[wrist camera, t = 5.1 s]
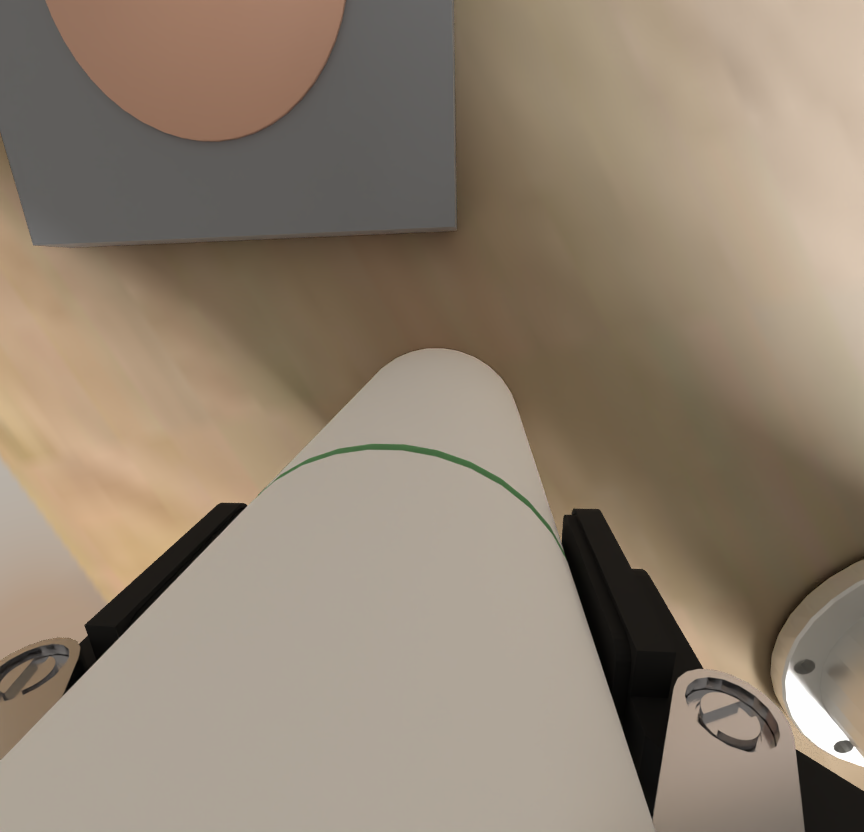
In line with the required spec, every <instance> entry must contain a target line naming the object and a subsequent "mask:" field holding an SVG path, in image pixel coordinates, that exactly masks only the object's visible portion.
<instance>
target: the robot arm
mask: <svg viewBox="0 0 864 832" xmlns="http://www.w3.org/2000/svg"><path fill="white" fill-rule="evenodd" d="M246 507H247V505H246V504H244V503H220V504H218V505H217V506H216V507H215V508H213V509H212V510H211V511H210V512H209V513H208V514H207V515H206V516H205V517H204V518H202V519H201V520H200V521H199V522H198V523H197V524H196V525H195V526H194V527H192V528H191V529H190V530H189V531H188V532H187V533H186V534H185V535H184V536H183V537H181V538H180V539H179V540H178V541H177V542H176V543H175V544H174V545H173V546H171V547H170V548H169V549H168V550H167V551H166V552H165V553H164V554H163V555H162V556H160V557H159V558H158V559H157V560H156V561H155V562H154V563H153V564H152V565H150V566H149V567H148V568H147V569H146V570H145V571H144V572H143V573H142V574H140V575H139V576H138V577H137V578H136V579H135V580H134V581H133V582H132V583H131V584H129V585H128V586H127V587H126V588H125V589H124V590H123V591H122V592H121V593H119V594H118V595H117V596H116V597H115V598H114V599H113V600H112V601H111V602H110V603H108V604H107V605H106V606H105V607H104V608H103V609H102V610H101V611H100V612H98V613H97V614H96V615H95V616H94V617H93V618H92V619H91V620H90V621H88V622H87V624H85V628H86V631H87V634H88V636H87V637H86V638H85V639H84V640H83V641H82V642H81V643H80V644H78V642H77V641H76V640H73V639H71V638H53V639H48V640H43V641H40V642H37V643H34V644H31V645H28V646H26V647H24V648H22V649H20V650H18V651H15V652H14V653H11V654H10V655H8V656H6V657H5V658H3V659H2V660H0V760H1V759H2V758H3V757H4V756H5V755H6V754H7V753H8V752H9V751H10V750H11V749H12V748H13V747H14V746H15V745H16V744H17V743H18V742H19V741H20V740H21V739H22V738H23V737H24V736H25V735H26V734H27V733H28V732H29V730H30V729H31V728H32V727H33V726H34V725H35V724H36V723H37V722H38V721H39V720H40V719H41V718H42V717H43V716H44V715H45V714H46V713H47V712H48V711H49V710H50V709H51V708H52V707H53V706H54V705H55V704H56V703H57V702H58V701H59V700H60V699H61V698H62V696H63V695H64V694H65V693H66V692H67V691H68V690H69V689H70V688H71V687H72V686H73V685H74V684H75V683H76V682H77V681H78V680H79V679H80V678H81V677H82V676H83V675H84V674H85V673H86V672H87V671H88V670H89V669H90V668H91V667H92V666H93V665H94V664H95V662H96V661H97V660H98V659H99V658H100V657H101V656H102V655H103V654H104V653H105V652H106V651H107V650H108V649H109V648H110V647H111V646H112V645H113V644H114V643H115V642H116V641H117V640H118V639H119V638H120V637H121V636H122V635H123V634H124V633H125V632H126V631H127V630H128V628H129V627H130V626H131V625H132V624H133V623H134V622H135V621H136V620H137V619H138V618H139V617H140V616H141V615H142V614H143V613H144V612H145V611H146V610H147V609H148V608H149V607H150V606H151V605H152V604H153V603H154V602H155V601H156V600H157V599H158V598H159V597H160V596H161V595H162V593H163V592H164V591H165V590H166V589H167V588H168V587H169V586H170V585H171V584H172V583H173V582H174V581H175V580H176V579H177V578H178V577H179V576H180V575H181V574H182V573H183V572H184V571H185V570H186V569H187V568H188V567H189V566H190V565H191V564H192V563H193V562H194V561H195V559H196V558H197V557H198V556H199V555H200V554H201V553H202V552H203V551H204V550H205V549H206V548H207V547H208V546H209V545H210V544H211V543H212V542H213V541H214V540H215V539H216V538H217V537H218V536H219V535H220V534H221V533H222V532H223V531H224V530H225V529H226V528H227V526H228V525H229V524H230V523H231V522H232V521H233V520H234V519H235V518H236V517H237V516H238V515H239V514H240V513H241V512H242V511H243V510H244V509H245V508H246ZM562 546H563V550H564V553H565V556H566V559H567V562H568V565H569V568H570V571H571V574H572V577H573V580H574V583H575V586H576V589H577V592H578V595H579V598H580V601H581V604H582V608H583V611H584V614H585V617H586V620H587V623H588V626H589V629H590V632H591V635H592V638H593V641H594V644H595V647H596V650H597V653H598V656H599V659H600V662H601V665H602V669H603V672H604V675H605V678H606V681H607V684H608V687H609V690H610V693H611V696H612V699H613V702H614V705H615V708H616V711H617V714H618V717H619V720H620V723H621V726H622V730H623V733H624V736H625V739H626V742H627V745H628V748H629V751H630V754H631V757H632V760H633V763H634V766H635V769H636V772H637V775H638V778H639V781H640V784H641V788H642V791H643V794H644V797H645V800H646V803H647V806H648V809H649V812H650V815H651V818H652V822H653V825H654V829H655V832H864V791H862V790H861V789H859V788H858V787H856V786H854V785H853V784H851V783H850V782H848V781H846V780H845V779H843V778H841V777H840V776H838V775H837V774H835V773H833V772H832V771H830V770H829V769H827V768H825V767H824V766H822V765H821V764H819V763H817V762H816V761H814V760H812V759H811V758H809V757H808V756H806V755H804V754H803V753H801V752H800V751H798V750H796V749H795V740H794V736H793V733H792V730H791V727H790V724H789V722H788V721H787V719H786V718H785V716H784V715H783V713H782V712H781V710H780V709H779V708H778V707H777V706H776V705H775V704H774V703H773V702H772V701H771V700H770V699H769V698H768V697H767V696H766V695H765V694H763V693H762V692H761V691H759V690H758V689H756V688H755V687H753V686H752V685H750V684H749V683H747V682H745V681H743V680H741V679H739V678H737V677H735V676H733V675H730V674H727V673H723V672H720V671H716V670H709V669H703V667H702V665H701V664H700V662H699V660H698V659H697V657H696V655H695V653H694V652H693V650H692V648H691V647H690V645H689V643H688V641H687V640H686V638H685V636H684V635H683V633H682V631H681V629H680V628H679V626H678V624H677V623H676V621H675V619H674V617H673V616H672V614H671V612H670V610H669V609H668V607H667V605H666V604H665V602H664V600H663V598H662V597H661V595H660V593H659V592H658V590H657V588H656V586H655V585H654V583H653V581H652V580H651V578H650V576H649V575H648V573H647V572H646V571H645V570H643V569H631V567H630V565H629V563H628V561H627V559H626V557H625V555H624V554H623V552H622V550H621V548H620V546H619V544H618V542H617V541H616V539H615V537H614V535H613V533H612V531H611V529H610V527H609V526H608V524H607V522H606V520H605V518H604V516H603V514H602V513H601V511H600V510H599V509H573V511H572V515H564V518H563V530H562ZM771 679H772V684H773V689H774V693H775V695H776V697H777V699H778V701H779V702H780V704H781V706H782V708H783V710H784V711H785V712H786V714H787V715H788V716H789V718H790V719H791V720H792V722H793V723H794V724H795V726H796V727H797V729H798V730H799V731H800V733H802V734H803V735H804V736H805V737H806V738H807V739H808V740H809V741H811V742H812V743H813V744H814V745H815V746H817V747H818V748H820V749H822V750H823V751H825V752H827V753H828V754H830V755H832V756H834V757H837V758H840V759H842V760H845V761H848V762H851V763H853V764H856V765H859V766H864V559H863V560H861V561H858V562H856V563H854V564H852V565H850V566H849V567H847V568H845V569H844V570H842V571H840V572H838V573H837V574H835V575H833V576H832V577H830V578H828V579H827V580H826V581H825V582H823V583H822V584H821V585H820V586H818V587H817V588H816V589H815V590H813V591H812V592H811V593H810V594H808V595H807V596H806V598H805V599H804V600H803V601H802V602H801V603H800V604H799V605H798V606H797V608H796V609H795V610H794V611H793V612H792V613H791V614H790V616H789V618H788V619H787V621H786V623H785V625H784V626H783V628H782V630H781V631H780V633H779V635H778V637H777V640H776V643H775V646H774V650H773V653H772V659H771Z"/></svg>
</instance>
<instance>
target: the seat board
mask: <svg viewBox="0 0 864 832" xmlns="http://www.w3.org/2000/svg"><path fill="white" fill-rule="evenodd" d="M0 132H1V136H2V139H3V143H4V146H5V150H6V153H7V157H8V160H9V163H10V167H11V170H12V174H13V177H14V181H15V184H16V187H17V191H18V194H19V198H20V201H21V205H22V208H23V211H24V215H25V218H26V222H27V225H28V229H29V232H30V235H31V239H32V242H33V245H36V246H51V247H67V248H75V247H98V246H121V245H144V244H167V243H190V242H213V241H236V240H259V239H282V238H305V237H328V236H351V235H374V234H397V233H420V232H443V231H457V196H456V123H455V50H454V0H0Z"/></svg>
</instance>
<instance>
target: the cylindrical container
mask: <svg viewBox="0 0 864 832" xmlns="http://www.w3.org/2000/svg"><path fill="white" fill-rule="evenodd" d="M0 832H655V829H654V825H653V822H652V818H651V815H650V812H649V809H648V806H647V803H646V800H645V797H644V794H643V791H642V788H641V784H640V781H639V778H638V775H637V772H636V769H635V766H634V763H633V760H632V757H631V754H630V751H629V748H628V745H627V742H626V739H625V736H624V733H623V730H622V726H621V723H620V720H619V717H618V714H617V711H616V708H615V705H614V702H613V699H612V696H611V693H610V690H609V687H608V684H607V681H606V678H605V675H604V672H603V669H602V665H601V662H600V659H599V656H598V653H597V650H596V647H595V644H594V641H593V638H592V635H591V632H590V629H589V626H588V623H587V620H586V617H585V614H584V611H583V608H582V604H581V601H580V598H579V595H578V592H577V589H576V586H575V583H574V580H573V577H572V574H571V571H570V568H569V565H568V562H567V559H566V556H565V553H564V550H563V546H562V543H561V540H560V537H559V534H558V531H557V528H556V525H555V522H554V519H553V516H552V513H551V510H550V507H549V504H548V501H547V497H546V494H545V491H544V488H543V485H542V482H541V479H540V476H539V473H538V470H537V467H536V464H535V461H534V458H533V455H532V452H531V448H530V445H529V442H528V439H527V436H526V433H525V430H524V427H523V424H522V421H521V418H520V415H519V412H518V409H517V406H516V403H515V401H514V398H513V396H512V393H511V391H510V390H509V388H508V387H507V385H506V384H505V382H504V381H503V379H502V378H501V377H500V376H499V375H498V374H497V373H496V372H495V371H494V370H493V369H492V368H491V367H490V366H488V365H487V364H485V363H483V362H482V361H480V360H479V359H477V358H475V357H473V356H471V355H468V354H466V353H463V352H460V351H456V350H451V349H445V348H427V349H422V350H417V351H412V352H409V353H407V354H404V355H402V356H400V357H397V358H395V359H394V360H392V361H391V362H390V363H388V364H387V365H385V366H384V367H382V368H381V369H380V370H379V371H378V372H377V373H376V375H375V376H374V377H373V378H372V379H371V380H370V381H369V382H368V383H367V384H366V385H365V386H364V387H363V388H362V389H361V390H360V391H359V392H358V393H357V394H356V395H355V396H354V397H353V398H352V399H351V400H350V401H349V402H348V403H347V404H346V405H345V406H344V407H343V408H342V409H341V410H340V411H339V412H338V413H337V415H336V416H335V417H334V418H333V419H332V420H331V421H330V422H329V423H328V424H327V425H326V426H325V427H324V428H323V429H322V430H321V431H320V432H319V433H318V434H317V435H316V436H315V437H314V438H313V439H312V440H311V441H310V442H309V443H308V444H307V445H306V446H305V447H304V448H303V449H302V450H301V451H300V452H299V454H298V455H297V456H296V457H295V458H294V459H293V460H292V461H291V462H290V463H289V464H288V465H287V466H286V467H285V468H284V469H283V470H282V471H281V472H280V473H279V474H278V475H277V476H276V477H275V478H274V479H273V480H272V481H271V482H270V483H269V484H268V485H267V486H266V487H265V488H264V489H263V490H262V491H261V493H260V494H259V495H258V496H257V497H256V498H255V499H254V500H253V501H252V502H251V503H250V504H249V505H248V506H247V507H246V508H245V509H244V510H243V511H242V512H241V513H240V514H239V515H238V516H237V517H236V518H235V519H234V520H233V521H232V522H231V523H230V524H229V525H228V526H227V528H226V529H225V530H224V531H223V532H222V533H221V534H220V535H219V536H218V537H217V538H216V539H215V540H214V541H213V542H212V543H211V544H210V545H209V546H208V547H207V548H206V549H205V550H204V551H203V552H202V553H201V554H200V555H199V556H198V557H197V558H196V559H195V561H194V562H193V563H192V564H191V565H190V566H189V567H188V568H187V569H186V570H185V571H184V572H183V573H182V574H181V575H180V576H179V577H178V578H177V579H176V580H175V581H174V582H173V583H172V584H171V585H170V586H169V587H168V588H167V589H166V590H165V591H164V592H163V593H162V595H161V596H160V597H159V598H158V599H157V600H156V601H155V602H154V603H153V604H152V605H151V606H150V607H149V608H148V609H147V610H146V611H145V612H144V613H143V614H142V615H141V616H140V617H139V618H138V619H137V620H136V621H135V622H134V623H133V624H132V625H131V626H130V627H129V628H128V630H127V631H126V632H125V633H124V634H123V635H122V636H121V637H120V638H119V639H118V640H117V641H116V642H115V643H114V644H113V645H112V646H111V647H110V648H109V649H108V650H107V651H106V652H105V653H104V654H103V655H102V656H101V657H100V658H99V659H98V660H97V661H96V662H95V664H94V665H93V666H92V667H91V668H90V669H89V670H88V671H87V672H86V673H85V674H84V675H83V676H82V677H81V678H80V679H79V680H78V681H77V682H76V683H75V684H74V685H73V686H72V687H71V688H70V689H69V690H68V691H67V692H66V693H65V694H64V695H63V696H62V698H61V699H60V700H59V701H58V702H57V703H56V704H55V705H54V706H53V707H52V708H51V709H50V710H49V711H48V712H47V713H46V714H45V715H44V716H43V717H42V718H41V719H40V720H39V721H38V722H37V723H36V724H35V725H34V726H33V727H32V728H31V729H30V730H29V732H28V733H27V734H26V735H25V736H24V737H23V738H22V739H21V740H20V741H19V742H18V743H17V744H16V745H15V746H14V747H13V748H12V749H11V750H10V751H9V752H8V753H7V754H6V755H5V756H4V757H3V758H2V759H1V760H0Z"/></svg>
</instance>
